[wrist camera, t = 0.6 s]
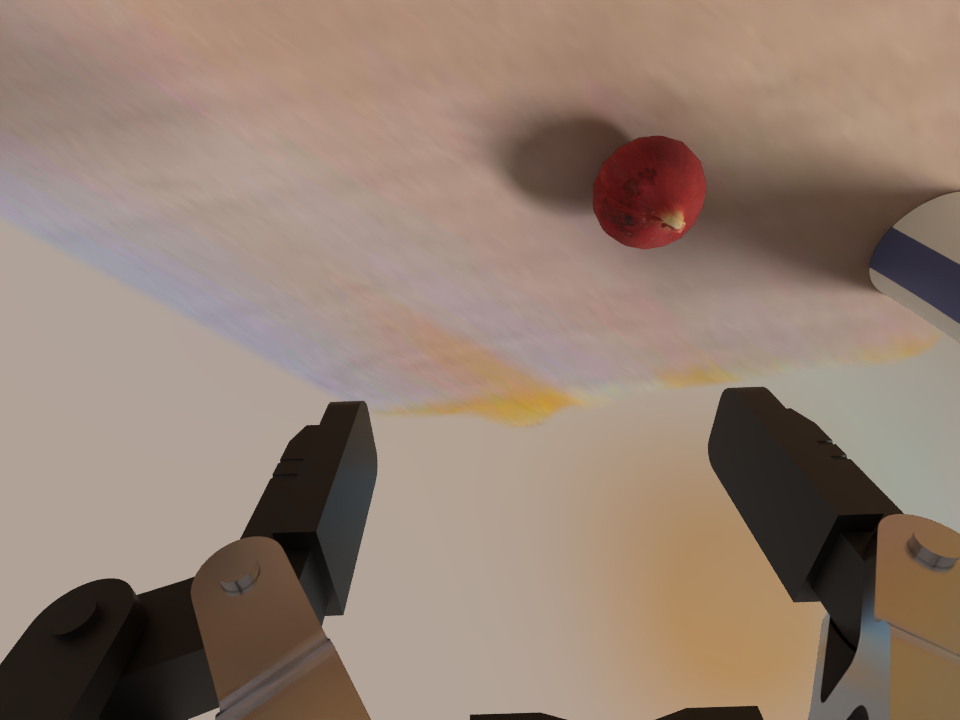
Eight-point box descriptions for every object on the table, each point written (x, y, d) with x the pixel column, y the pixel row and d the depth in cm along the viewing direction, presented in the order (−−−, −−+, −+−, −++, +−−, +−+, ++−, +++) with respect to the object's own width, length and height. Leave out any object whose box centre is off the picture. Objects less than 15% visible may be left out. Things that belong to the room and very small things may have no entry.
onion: (582, 225, 31) (610, 284, 25) (581, 130, 28) (614, 172, 21) (672, 212, 31) (725, 269, 24) (683, 114, 27) (748, 152, 21)
